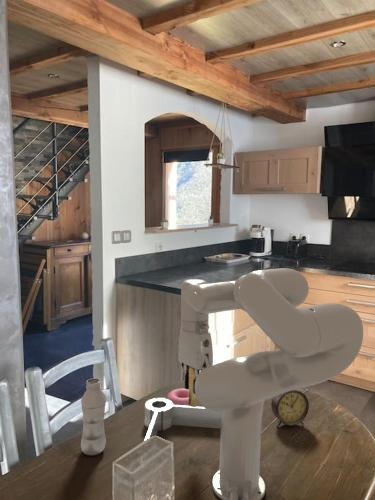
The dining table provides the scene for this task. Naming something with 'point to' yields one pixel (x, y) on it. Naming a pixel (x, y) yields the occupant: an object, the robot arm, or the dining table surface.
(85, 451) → the plastic bottle
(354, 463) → the dining table surface
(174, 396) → the doughnut
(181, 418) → the hinge
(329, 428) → the dining table surface
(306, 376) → the robot arm
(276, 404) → the alarm clock
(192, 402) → the hinge pin
